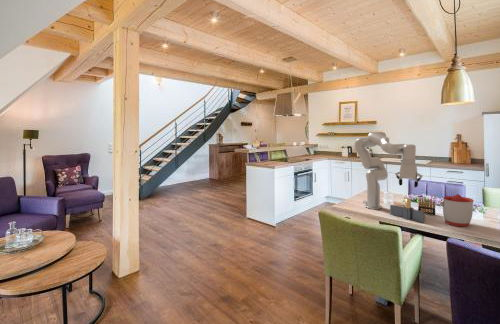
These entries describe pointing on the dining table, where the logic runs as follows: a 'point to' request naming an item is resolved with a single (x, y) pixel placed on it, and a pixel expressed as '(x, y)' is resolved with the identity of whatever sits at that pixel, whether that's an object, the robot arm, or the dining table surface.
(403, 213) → the hinge
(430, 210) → the ammunition clip
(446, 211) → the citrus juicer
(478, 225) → the dining table surface
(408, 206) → the hinge pin
